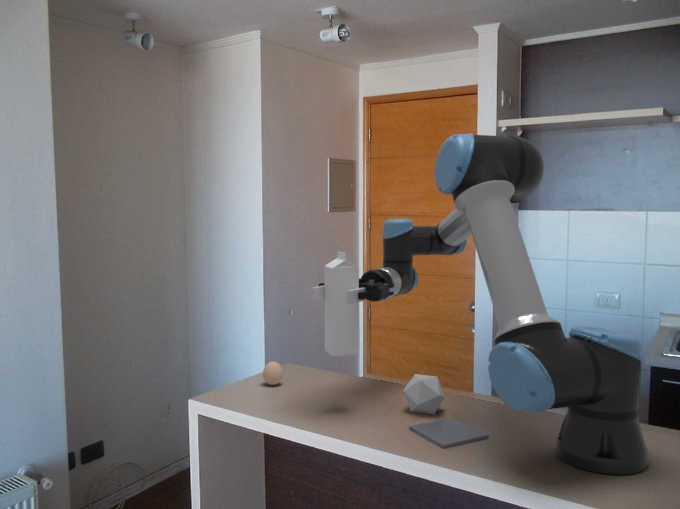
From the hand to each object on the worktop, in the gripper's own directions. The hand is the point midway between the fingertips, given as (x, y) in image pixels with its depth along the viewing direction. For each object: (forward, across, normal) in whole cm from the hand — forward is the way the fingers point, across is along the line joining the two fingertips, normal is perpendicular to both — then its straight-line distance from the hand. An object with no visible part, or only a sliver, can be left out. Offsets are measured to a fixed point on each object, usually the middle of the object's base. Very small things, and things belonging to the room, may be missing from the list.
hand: (330, 295), depth 129 cm
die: (-14, -16, -26) cm, 34 cm away
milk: (-5, 0, -13) cm, 14 cm away
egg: (-12, +24, -26) cm, 38 cm away
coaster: (-4, -25, -26) cm, 36 cm away
